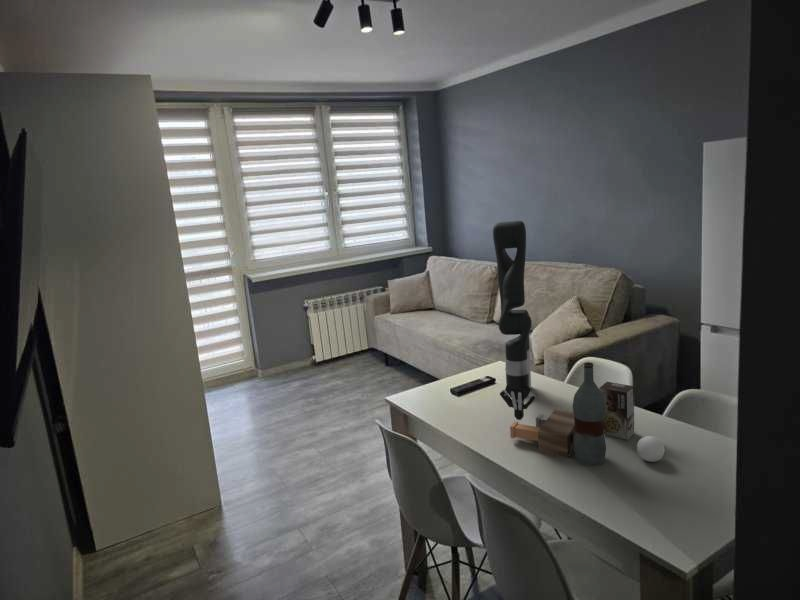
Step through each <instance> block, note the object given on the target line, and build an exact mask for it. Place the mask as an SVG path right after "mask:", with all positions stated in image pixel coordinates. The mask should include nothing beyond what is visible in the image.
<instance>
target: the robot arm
mask: <svg viewBox="0 0 800 600" xmlns="http://www.w3.org/2000/svg"><path fill="white" fill-rule="evenodd" d="M492 237H493V238H492V239H493V245H494V250H495V257H496V264H497V281H498V290H499V298H500V317H499V320H498V329H499V331H500V333H501V334H502V335H506V336H510V335H514V336H515V335H518V336H516V337H514V338H512V339H509V340H508V341H506V342H505V347H504V348H505V367H504V368H505V369H504V370H505V382H506V386H505V389H502V391H500V392H499V396H500V397H501V398H502V399H503V400H504V402H505V403H506V404H507V406H508V407H509V408H512V409H513V411H514V412H513V413H514V418H515V419H516V420H517V421H521V420H522V419H523V418H524V417H525V413H524V412H525V411H524V410H527V409H528V407H530V405H532V403H533V402H534V401H535V400H536V398H537V397H538V395H537V394H536V393H533V392H532V375H531V372H532V371H531V351H530V350H531V349H530V348H531V347H530V332H531V328H532V323H533V322H532V317H531V316H530V314H529V311H528V310H527V309H516V308H521V307H523V306H524V305H525V303H526V301H525V299H526V297H525V267H526V253H527V252H526V251H527V230H526V225H525V222H524V221H522V220H512V221H502V222H501V221H500V222H497V223H495V224H494V225H493V229H492ZM508 249H516V253H515V256H514V259H512V258H511V257H510V255H509V254H508V252H507V250H508ZM527 397H528V401H527V402H526V403H525V400H526V398H527Z"/></svg>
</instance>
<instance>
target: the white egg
mask: <svg viewBox="0 0 800 600" xmlns="http://www.w3.org/2000/svg"><path fill="white" fill-rule="evenodd" d="M634 440H635V441H637V445H636V450H637V453H638V455H639V457H641V459H643V460H645V461H647V462H651V463H654V462H658V461H660V460H662V458H663V457H664V455H665V446H664V444H663V442H662V440H660V439H659V438H658V437H656V436H653V435H647V436H643V437H641V438H640V439H638V440H637V439H634Z"/></svg>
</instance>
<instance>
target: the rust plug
mask: <svg viewBox="0 0 800 600" xmlns="http://www.w3.org/2000/svg"><path fill="white" fill-rule="evenodd" d="M539 429H540V427H536V425H535V426H533V425H528V424H523V423H522V424H521V423H519V422H518V421H513V422H512V424H511V425H510V426H509V432H510V434H509V435H510V439H515V438H519V439H524V440H530V441H536V442H538V431H539Z"/></svg>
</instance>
